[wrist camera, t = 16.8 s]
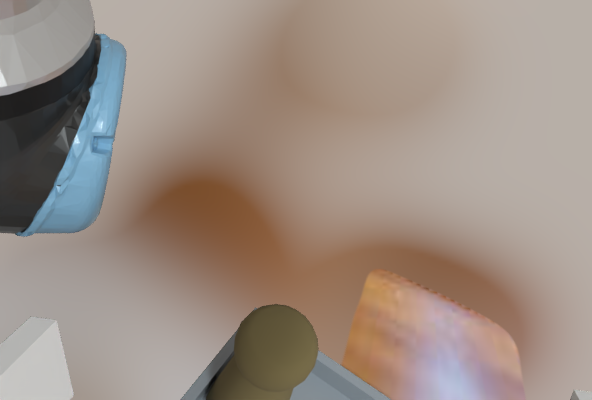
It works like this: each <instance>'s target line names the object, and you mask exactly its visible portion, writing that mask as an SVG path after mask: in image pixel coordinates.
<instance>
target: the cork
mask: <svg viewBox="0 0 592 400" xmlns="http://www.w3.org/2000/svg"><path fill="white" fill-rule="evenodd" d="M317 356H318V339H317V336H316V334H315V331H314V329H313V326H312V325H311V323H310V322H309V321H308V320H307V318H306V317H305V316H304V315H303V314H301V313H300V312H299V311H297V310H296V309H293V308H291V307H289V306H286V305H278V304H274V305H267V306H262V307H260V308H258V309H256V310H254V311H252V312H251V313H250V314H249V315H248V316H247V317H246V318H245V319H244V320H243V321H242V322H241V324H240V327H239V329H238V331H237V333H236V336H235V341H234V355H233V357H232V358H231V360H230V361H229V362H228V364H227V365H226V367H225V368H224V369H223V371H222V372H221V373H220V375H219V376H218V378H217V379H216V380H215V382H214V383H213V385H212V386H211V388H210V390H209V393H208V395H207V397H206V400H290V398H291V395H292V391H293V388H294V387H296V386H297V385H299V384H300V383H302V382H303V381H305V379H306V378H307V377H308V375H309V374H310V372H311V371H312V370H313V368H314V367H315V363H316V359H317Z"/></svg>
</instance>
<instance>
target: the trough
mask: <svg viewBox="0 0 592 400" xmlns="http://www.w3.org/2000/svg"><path fill="white" fill-rule="evenodd" d="M256 309H257V308H255V309H254V310H256ZM254 310H253V311H254ZM238 329H239V328H238ZM237 331H238V330H237ZM237 331H236V332H235V334H234V335H233V336H232V337H231V338H230V340H229V341H228V342H227V343H226V344H225V346H224V347H223V348H222V349H221V351H220V352H219V353H218V354H217V355H216V357H215V358H214V359H213V360H212V362H211V363H210V364H209V365H208V367H207V368H206V369H205V370H204V371H203V373H202V374H201V375H200V376H199V378H198V379H197V380H196V381H195V383H194V384H193V385H192V386H191V387H190V389H189V390H188V391H187V392H186V394H185V395H184V396H183V397H182V399H181V400H206V397H207V395H208V393H209V390H210V388H211V386H212V385H213V383H214V382H215V380H216V379H217V378H218V376H219V375H220V373H221V372H222V371H223V369H224V368H225V367H226V365H227V364H228V362H229V361H230V360H231V358H232V357H233V355H234V341H235V336H236V333H237ZM290 400H391V399H389V398H388V397H386V396H385V395H383V394H382V393H380V392H379V391H377V390H376V389H375V388H373V387H372V386H370V385H369V384H367V383H366V382H364V381H363V380H361V379H360V378H358V377H357V376H355V375H354V374H353V373H351V372H350V371H348V370H347V369H345V368H344V367H342V366H341V365H339V364H338V363H336V362H335V361H333V360H332V359H331V358H329V357H327V356H326V355H325V354H323V353H322V352H320V351H319V350H318V356H317V359H316V363H315V367H314V368H313V370H312V371H311V372H310V374H309V375H308V377H307V378H306V379H305V381H303V382H302V383H300V384H299V385H297V386H296V387H294V388H293V391H292V395H291V398H290Z"/></svg>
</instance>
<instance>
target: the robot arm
mask: <svg viewBox="0 0 592 400" xmlns="http://www.w3.org/2000/svg"><path fill="white" fill-rule="evenodd" d="M125 67H126V50H125V48H124V46H123V45H122V44H121V43H119V42H118V41H115V40H112V39H110V38H109V37H108V36H106V35H105V34H97V33H96V34H95V26H94V17H93V11H92V7H91V4H90V1H89V0H0V233H15V234H16V235H17V236H30V235H32V234H34V233H75V232H79V231H81V230H84V229H86V228H87V227H89V226H90V225H91V224H92V223H93V222H94V221H95V220H96V218H97V217H98V215H99V213H100V209H101V206H102V202H103V198H104V194H105V189H106V184H107V179H108V174H109V168H110V162H111V156H112V149H113V148H112V144H113V142H114V137H115V131H116V127H117V122H118V117H119V111H120V104H121V98H122V91H123V84H124V76H125ZM73 396H74V393H73V388H72V384H71V380H70V376H69V371H68V367H67V363H66V358H65V354H64V350H63V345H62V341H61V337H60V333H59V328H58V324H57V320H53V319H46V318H38V317H30V318H29V319H28V320H26V322H24V323H23V324H22V325H21V326H20V327H19V328H18V329H17V330H15V331H14V332H13V333H12V334H11V335H10V336H9V337H8V338H7V339H6V340H4V341H3V342H2V343H1V344H0V400H71V398H72V397H73ZM570 400H592V392H587V391H580V390H574V391H573V393H572V396H571V399H570Z"/></svg>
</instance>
